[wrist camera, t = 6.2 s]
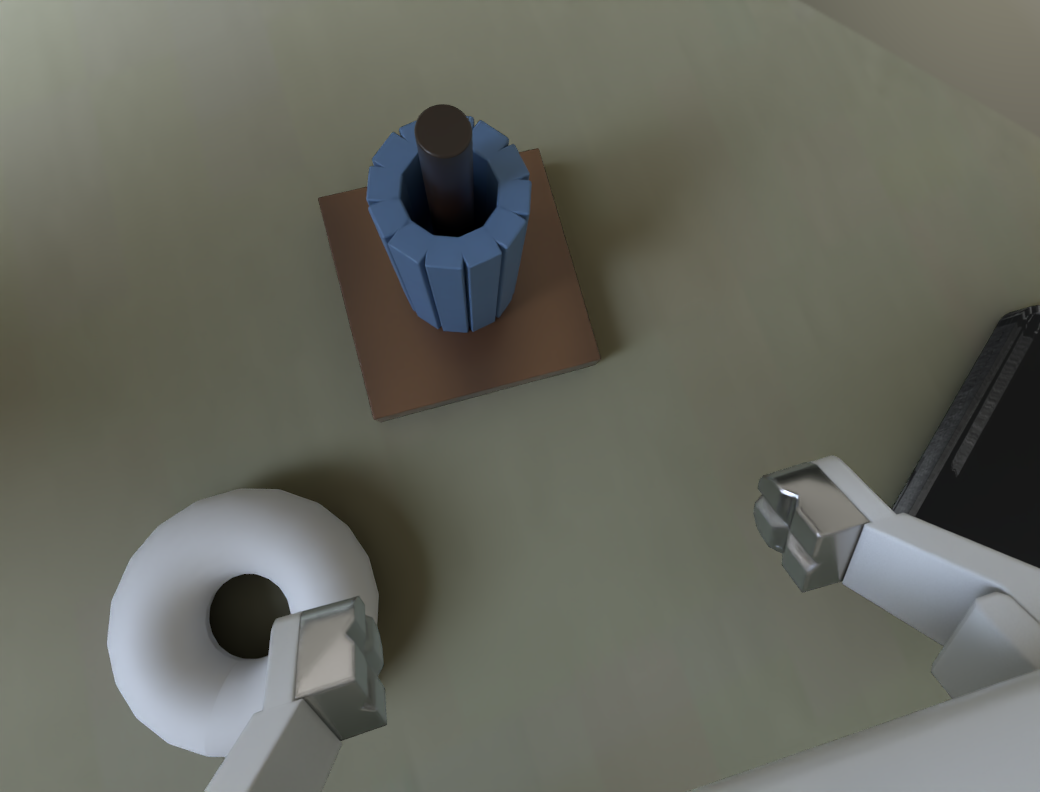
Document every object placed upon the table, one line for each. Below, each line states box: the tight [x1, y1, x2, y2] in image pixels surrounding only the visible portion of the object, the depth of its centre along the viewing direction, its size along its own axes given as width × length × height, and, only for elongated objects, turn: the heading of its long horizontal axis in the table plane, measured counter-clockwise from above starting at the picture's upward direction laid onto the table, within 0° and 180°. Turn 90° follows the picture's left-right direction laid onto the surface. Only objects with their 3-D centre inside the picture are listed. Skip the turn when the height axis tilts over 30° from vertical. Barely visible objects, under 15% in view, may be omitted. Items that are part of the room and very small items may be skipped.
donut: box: [107, 488, 379, 757], centre depth 22 cm, size 10×4×10 cm
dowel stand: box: [318, 104, 601, 422], centre depth 20 cm, size 10×10×12 cm
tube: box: [366, 116, 532, 333], centre depth 21 cm, size 5×5×8 cm
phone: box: [892, 305, 1040, 568], centre depth 26 cm, size 8×1×15 cm
